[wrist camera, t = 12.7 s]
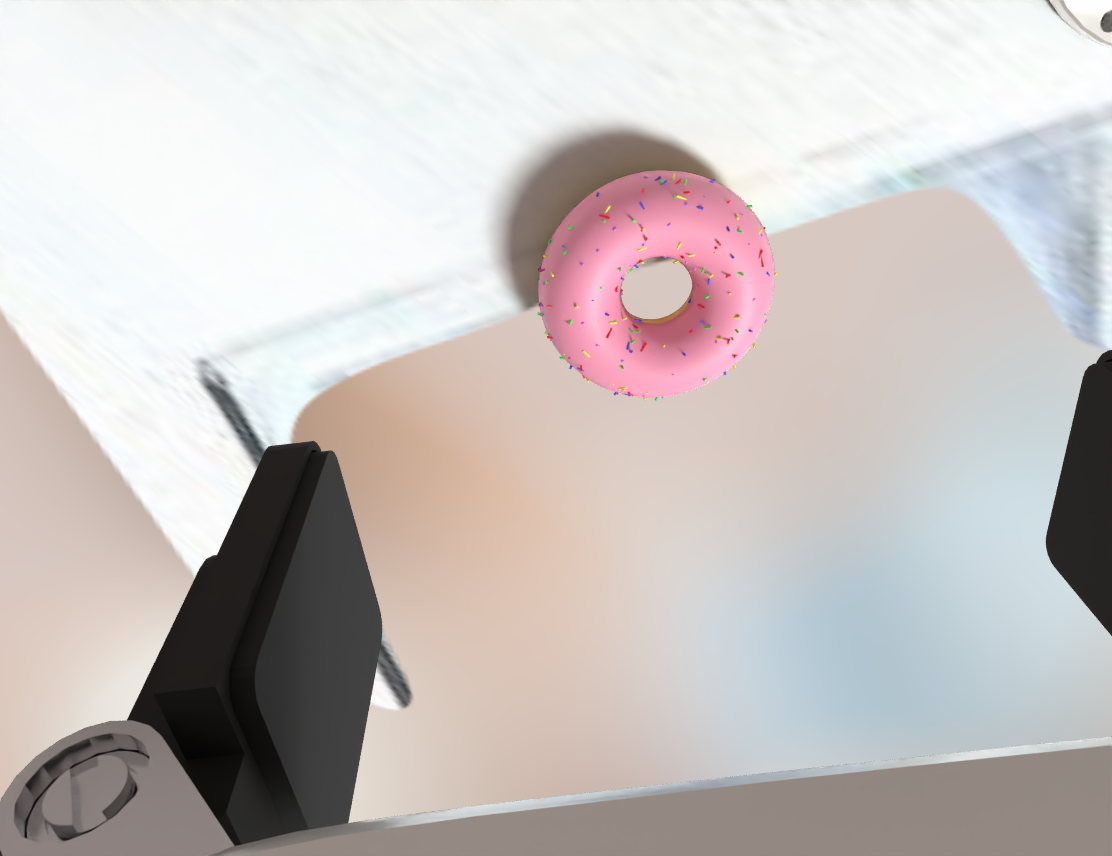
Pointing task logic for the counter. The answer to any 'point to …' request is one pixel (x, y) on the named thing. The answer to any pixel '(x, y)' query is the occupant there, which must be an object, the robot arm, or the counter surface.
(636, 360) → the doughnut
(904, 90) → the counter surface
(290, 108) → the counter surface
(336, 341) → the counter surface
